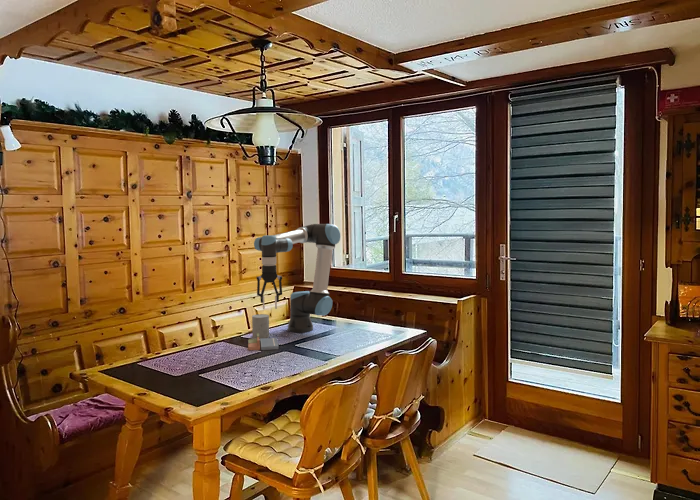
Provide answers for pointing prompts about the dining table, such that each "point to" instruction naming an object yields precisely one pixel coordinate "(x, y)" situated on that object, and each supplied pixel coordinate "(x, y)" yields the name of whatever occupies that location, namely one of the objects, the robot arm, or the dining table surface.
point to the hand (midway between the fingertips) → (269, 308)
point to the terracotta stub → (254, 345)
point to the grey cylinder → (260, 326)
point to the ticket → (269, 343)
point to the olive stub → (253, 339)
